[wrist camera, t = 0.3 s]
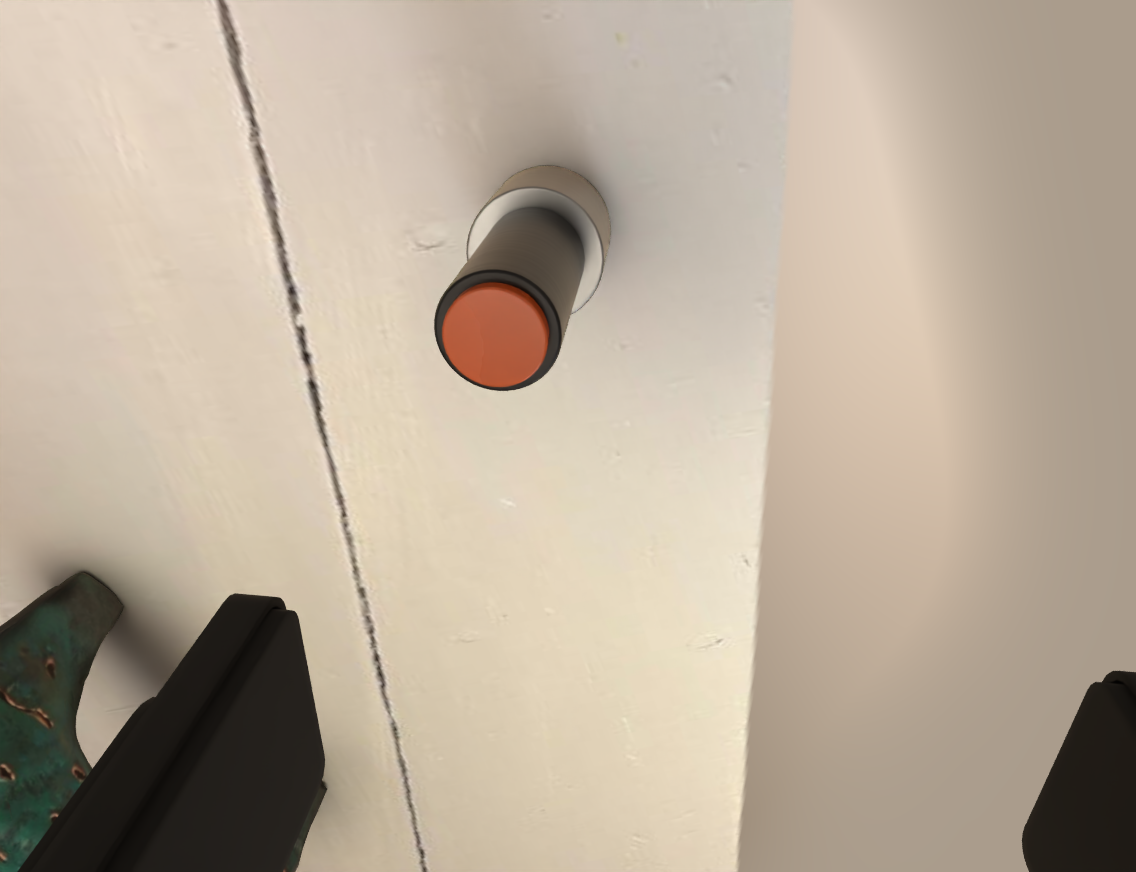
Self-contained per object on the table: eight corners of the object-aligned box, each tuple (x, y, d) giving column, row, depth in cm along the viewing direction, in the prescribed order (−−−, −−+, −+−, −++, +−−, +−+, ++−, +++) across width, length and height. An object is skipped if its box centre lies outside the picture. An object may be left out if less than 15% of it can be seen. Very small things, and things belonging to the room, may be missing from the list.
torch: (486, 161, 28) (399, 244, 19) (614, 168, 28) (588, 255, 18) (488, 285, 30) (410, 413, 21) (607, 293, 30) (581, 426, 21)
